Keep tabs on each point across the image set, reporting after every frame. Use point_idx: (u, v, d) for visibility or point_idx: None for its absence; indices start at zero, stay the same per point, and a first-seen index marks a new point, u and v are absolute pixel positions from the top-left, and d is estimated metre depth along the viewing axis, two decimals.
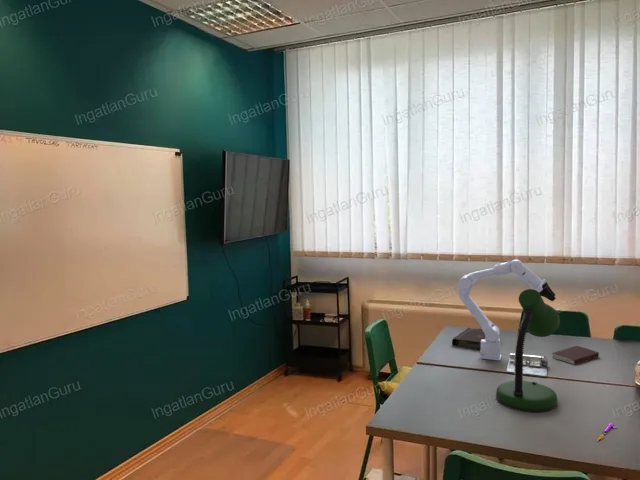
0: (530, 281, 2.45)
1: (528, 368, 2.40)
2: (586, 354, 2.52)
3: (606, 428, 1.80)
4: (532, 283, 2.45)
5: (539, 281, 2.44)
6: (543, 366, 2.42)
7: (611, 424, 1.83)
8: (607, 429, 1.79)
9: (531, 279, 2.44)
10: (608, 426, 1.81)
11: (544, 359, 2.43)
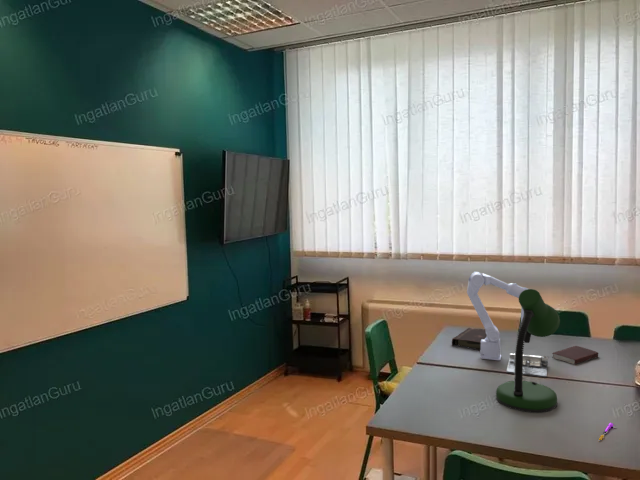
0: None
1: (528, 368, 2.40)
2: (586, 354, 2.52)
3: (606, 428, 1.80)
4: None
5: None
6: (543, 366, 2.42)
7: (611, 424, 1.83)
8: (607, 429, 1.79)
9: None
10: (608, 426, 1.81)
11: (544, 359, 2.43)
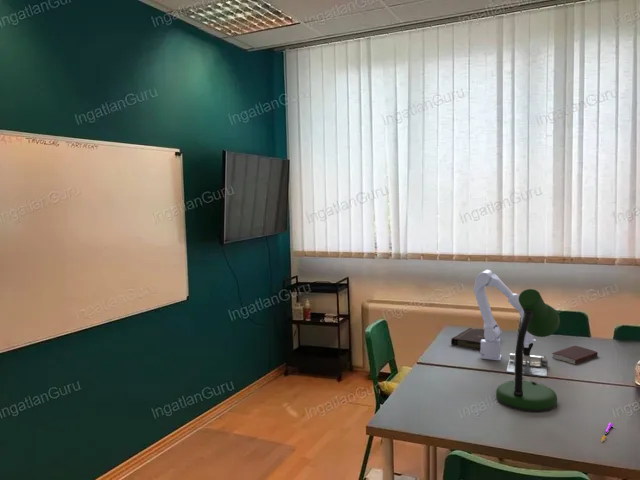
0: None
1: (528, 368, 2.40)
2: (586, 354, 2.53)
3: (607, 428, 1.80)
4: None
5: (530, 338, 2.46)
6: (543, 366, 2.42)
7: (611, 424, 1.83)
8: (608, 429, 1.79)
9: (527, 332, 2.45)
10: (608, 426, 1.81)
11: (544, 359, 2.43)
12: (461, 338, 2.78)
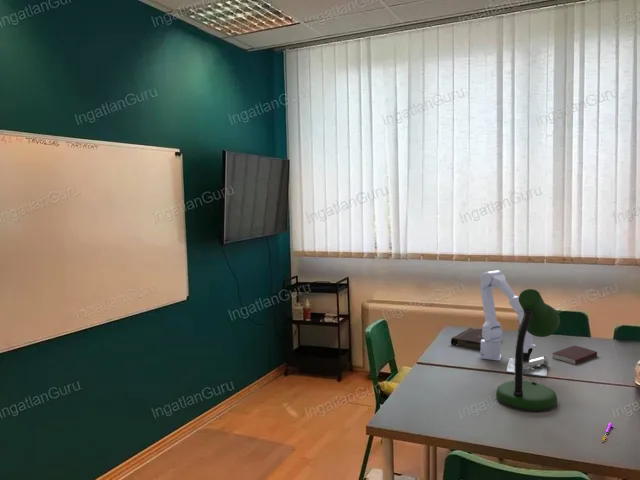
0: (524, 337, 2.39)
1: (528, 368, 2.40)
2: (585, 354, 2.53)
3: (607, 428, 1.80)
4: None
5: (530, 343, 2.38)
6: (543, 366, 2.42)
7: (610, 424, 1.83)
8: (608, 429, 1.79)
9: (526, 336, 2.38)
10: (608, 426, 1.81)
11: (547, 359, 2.43)
12: (461, 338, 2.79)
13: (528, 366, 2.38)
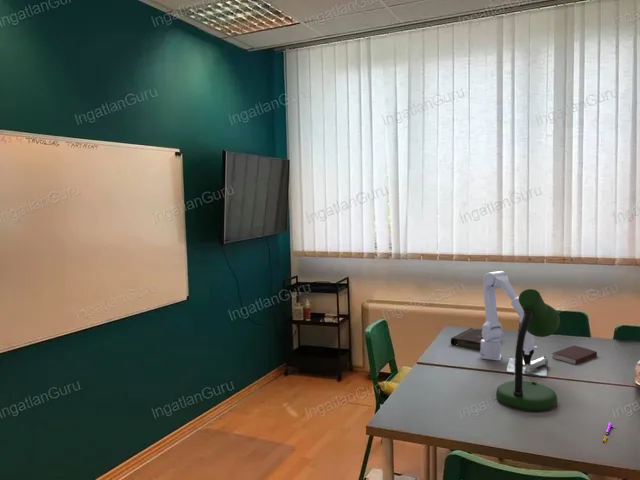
0: (525, 339, 2.36)
1: None
2: (585, 354, 2.53)
3: (607, 428, 1.80)
4: (525, 341, 2.36)
5: (531, 345, 2.36)
6: (543, 366, 2.42)
7: (610, 424, 1.83)
8: (608, 429, 1.79)
9: (528, 338, 2.35)
10: (608, 426, 1.81)
11: (547, 359, 2.44)
12: (460, 338, 2.79)
13: (533, 367, 2.36)
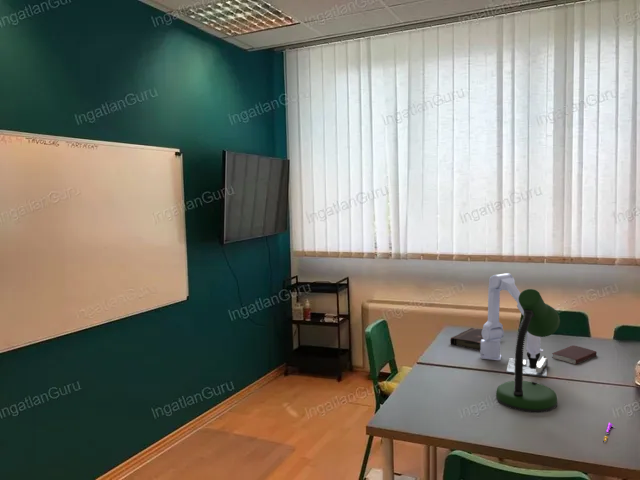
0: (531, 342, 2.31)
1: (528, 368, 2.40)
2: (585, 353, 2.53)
3: (607, 429, 1.80)
4: (531, 344, 2.31)
5: (537, 348, 2.31)
6: None
7: (610, 424, 1.83)
8: (608, 430, 1.79)
9: (534, 341, 2.31)
10: (608, 426, 1.81)
11: (547, 359, 2.44)
12: (460, 338, 2.79)
13: (541, 369, 2.34)
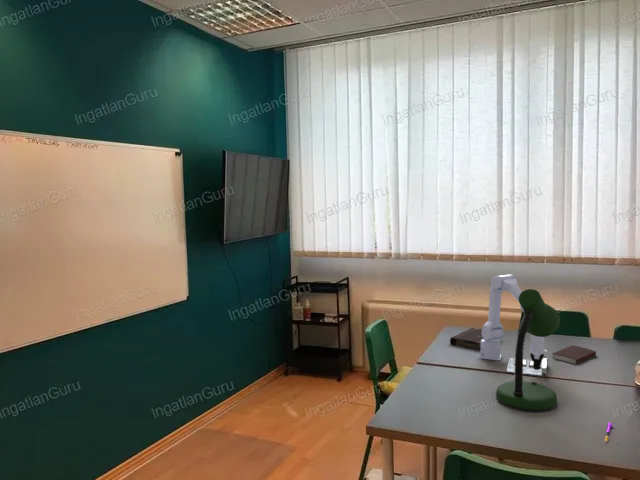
0: (535, 342, 2.30)
1: (528, 368, 2.40)
2: (585, 353, 2.53)
3: (607, 428, 1.80)
4: (534, 345, 2.30)
5: (541, 349, 2.30)
6: None
7: (610, 424, 1.83)
8: (609, 430, 1.79)
9: (537, 342, 2.29)
10: (608, 426, 1.81)
11: (547, 358, 2.44)
12: (460, 338, 2.79)
13: None
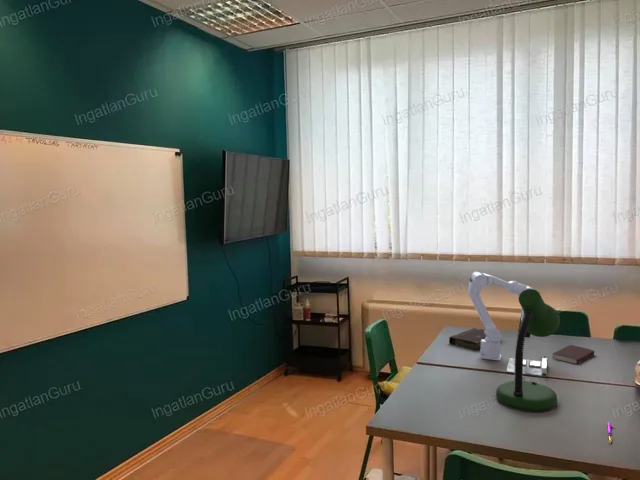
0: None
1: (528, 368, 2.40)
2: (584, 353, 2.54)
3: (608, 429, 1.80)
4: None
5: None
6: None
7: (609, 424, 1.83)
8: (610, 430, 1.79)
9: None
10: (608, 426, 1.81)
11: (547, 358, 2.44)
12: (459, 337, 2.80)
13: None
